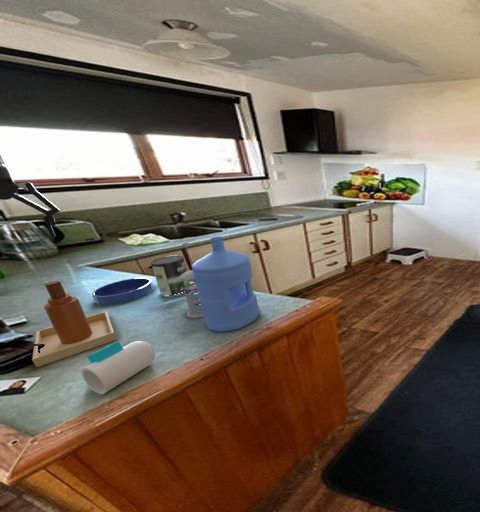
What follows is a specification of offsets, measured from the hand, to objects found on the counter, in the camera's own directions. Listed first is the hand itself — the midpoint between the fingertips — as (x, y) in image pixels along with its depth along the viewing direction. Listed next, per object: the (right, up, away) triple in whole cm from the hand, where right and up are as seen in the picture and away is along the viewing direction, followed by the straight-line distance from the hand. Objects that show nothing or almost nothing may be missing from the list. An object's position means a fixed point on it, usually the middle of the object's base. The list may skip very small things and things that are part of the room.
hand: (18, 240), depth 81 cm
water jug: (+59, -26, +10) cm, 65 cm away
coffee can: (+25, -19, +30) cm, 43 cm away
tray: (+17, -29, 0) cm, 34 cm away
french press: (+45, -24, +16) cm, 54 cm away
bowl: (+6, -20, +27) cm, 35 cm away
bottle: (+17, -29, 0) cm, 34 cm away
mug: (+45, -34, -13) cm, 58 cm away
